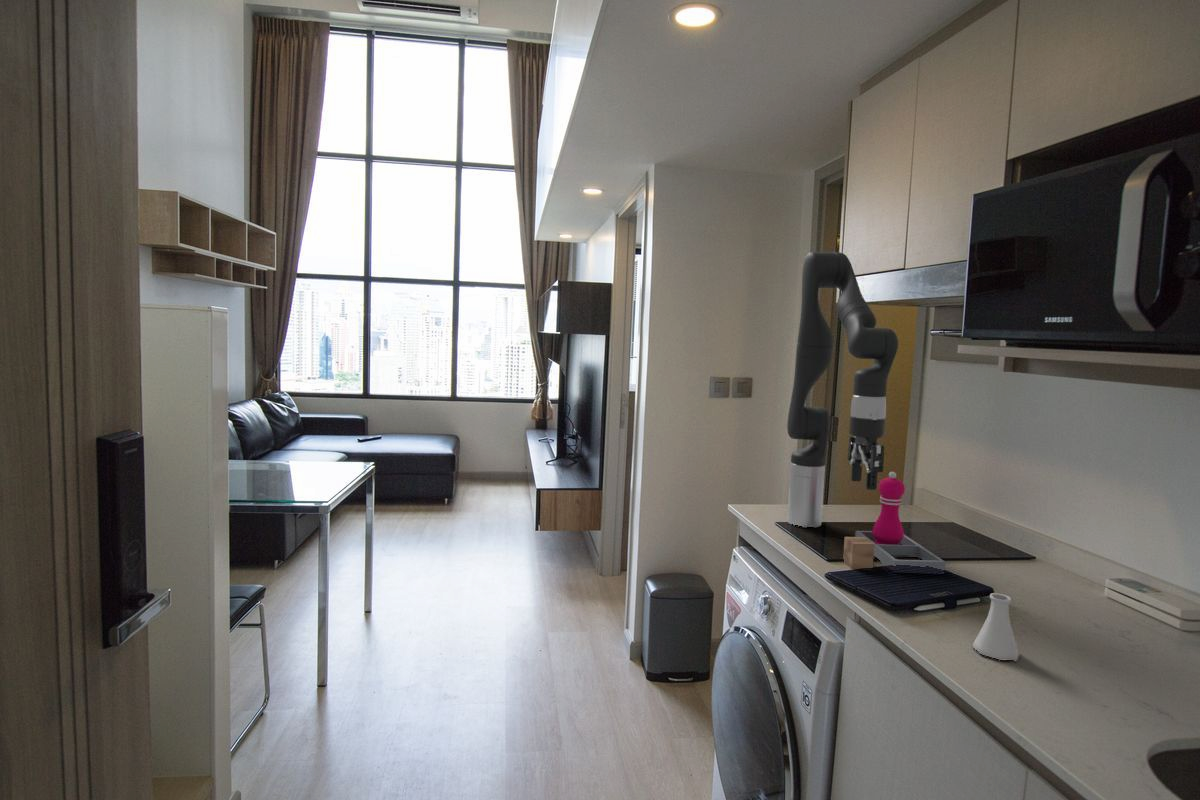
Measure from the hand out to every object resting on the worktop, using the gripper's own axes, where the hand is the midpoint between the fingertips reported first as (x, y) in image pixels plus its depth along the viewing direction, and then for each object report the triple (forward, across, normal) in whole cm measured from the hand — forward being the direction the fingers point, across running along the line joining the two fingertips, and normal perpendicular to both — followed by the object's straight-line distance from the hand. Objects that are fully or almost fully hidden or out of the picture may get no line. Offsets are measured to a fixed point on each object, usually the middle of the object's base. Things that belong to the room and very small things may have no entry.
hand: (863, 485), depth 155 cm
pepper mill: (+19, -12, +12) cm, 25 cm away
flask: (+20, +42, +7) cm, 47 cm away
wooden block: (+19, 0, 0) cm, 19 cm away
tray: (+19, -6, +12) cm, 23 cm away
